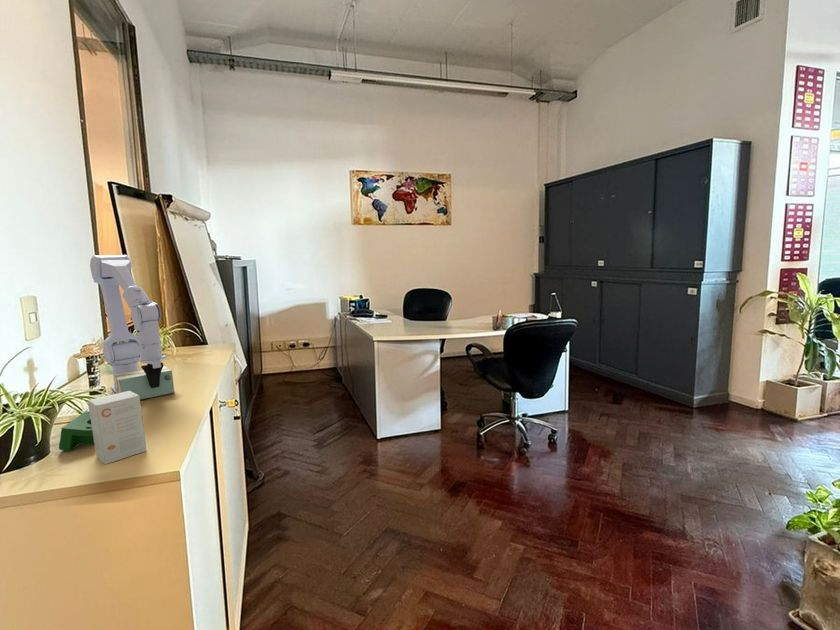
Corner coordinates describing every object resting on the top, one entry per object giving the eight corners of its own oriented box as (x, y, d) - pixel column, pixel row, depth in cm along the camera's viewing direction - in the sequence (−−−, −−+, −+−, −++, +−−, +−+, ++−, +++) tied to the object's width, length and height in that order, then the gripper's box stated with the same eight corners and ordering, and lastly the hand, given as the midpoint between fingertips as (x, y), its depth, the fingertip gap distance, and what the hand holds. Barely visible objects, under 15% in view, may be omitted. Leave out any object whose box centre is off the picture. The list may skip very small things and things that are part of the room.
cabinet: (117, 395, 140) (114, 374, 139) (166, 385, 149) (164, 365, 148) (122, 403, 133) (119, 380, 132) (174, 392, 142) (171, 371, 141)
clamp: (90, 465, 102) (88, 436, 98) (60, 462, 101) (57, 433, 97) (113, 427, 113) (112, 400, 109) (86, 425, 111) (84, 397, 107)
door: (123, 402, 132) (120, 378, 131) (173, 391, 142) (170, 369, 140) (124, 403, 131) (121, 380, 130) (174, 392, 140) (172, 370, 139)
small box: (137, 444, 103) (130, 389, 101) (147, 451, 98) (140, 394, 97) (95, 457, 96) (87, 399, 95) (104, 465, 92) (95, 405, 91)
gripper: (170, 344, 131) (175, 388, 133) (159, 338, 142) (164, 379, 144) (142, 348, 127) (148, 394, 128) (133, 342, 137) (138, 384, 139)
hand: (154, 387), depth 136 cm, fingers closed
